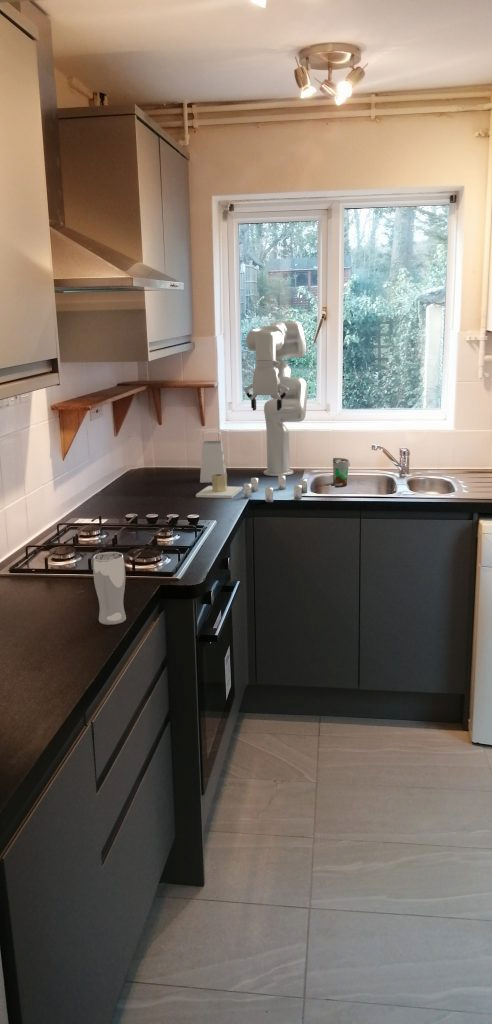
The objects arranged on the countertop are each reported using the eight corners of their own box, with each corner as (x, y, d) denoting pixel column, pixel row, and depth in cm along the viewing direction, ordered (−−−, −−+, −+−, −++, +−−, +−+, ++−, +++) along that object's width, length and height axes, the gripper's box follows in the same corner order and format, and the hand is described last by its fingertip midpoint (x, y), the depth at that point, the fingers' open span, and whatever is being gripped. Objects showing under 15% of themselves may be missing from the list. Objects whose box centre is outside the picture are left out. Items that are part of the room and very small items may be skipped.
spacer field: (255, 487, 321) (255, 474, 319) (310, 488, 315) (310, 476, 314) (239, 501, 297) (238, 487, 296) (298, 503, 292) (297, 489, 291)
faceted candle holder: (215, 488, 315) (215, 473, 313) (228, 489, 314) (227, 473, 312) (211, 491, 309) (210, 476, 308) (224, 492, 308) (223, 476, 307)
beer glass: (91, 624, 181) (86, 559, 177) (104, 613, 187) (100, 550, 184) (120, 626, 179) (116, 561, 176) (132, 615, 186) (129, 552, 182)
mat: (208, 488, 321) (208, 485, 321) (242, 489, 317) (242, 486, 317) (195, 497, 306) (195, 494, 306) (231, 498, 302) (231, 495, 302)
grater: (202, 477, 343) (200, 430, 338) (227, 477, 343) (225, 429, 338) (199, 482, 333) (197, 433, 328) (225, 482, 332) (223, 433, 328)
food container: (351, 488, 314) (351, 462, 312) (335, 488, 314) (335, 463, 312) (348, 481, 326) (348, 457, 324) (332, 482, 326) (332, 457, 324)
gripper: (290, 364, 310) (290, 409, 314) (246, 364, 314) (247, 409, 318) (286, 365, 303) (286, 411, 307) (241, 365, 307) (242, 411, 311)
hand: (266, 410), depth 313 cm, fingers open, 9 cm apart
